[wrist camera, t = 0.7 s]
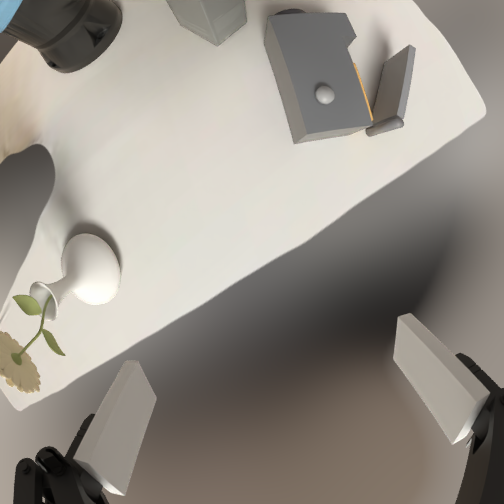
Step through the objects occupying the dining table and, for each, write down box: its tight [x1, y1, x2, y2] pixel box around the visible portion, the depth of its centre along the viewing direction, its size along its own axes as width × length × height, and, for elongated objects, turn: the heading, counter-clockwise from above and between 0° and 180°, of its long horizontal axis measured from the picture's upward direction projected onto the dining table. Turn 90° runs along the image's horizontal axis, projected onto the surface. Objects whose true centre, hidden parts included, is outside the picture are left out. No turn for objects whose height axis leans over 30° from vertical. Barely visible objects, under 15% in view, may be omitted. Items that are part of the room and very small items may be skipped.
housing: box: [264, 9, 404, 144], centre depth 27 cm, size 18×12×9 cm, turn 14°
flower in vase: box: [0, 233, 121, 394], centre depth 26 cm, size 13×11×25 cm
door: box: [372, 45, 416, 127], centre depth 27 cm, size 12×2×8 cm, turn 162°
